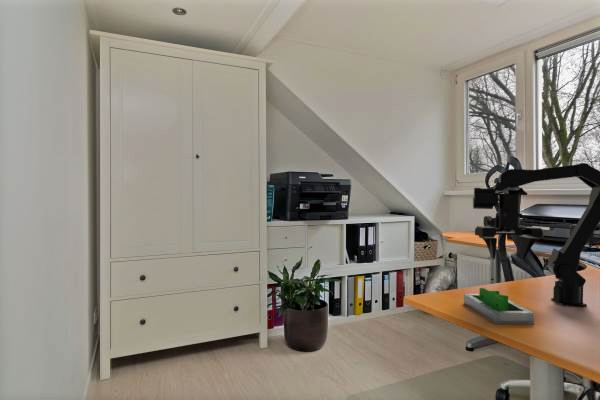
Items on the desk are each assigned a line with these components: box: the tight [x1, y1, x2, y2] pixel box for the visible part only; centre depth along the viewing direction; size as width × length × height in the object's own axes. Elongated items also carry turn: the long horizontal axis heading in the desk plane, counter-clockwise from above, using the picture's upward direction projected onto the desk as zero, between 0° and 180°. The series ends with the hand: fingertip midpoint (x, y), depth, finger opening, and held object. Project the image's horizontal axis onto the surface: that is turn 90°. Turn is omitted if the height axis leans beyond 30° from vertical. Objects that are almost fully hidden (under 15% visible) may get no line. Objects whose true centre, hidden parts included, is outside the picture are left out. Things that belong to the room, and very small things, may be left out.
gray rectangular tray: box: [463, 293, 535, 325], centre depth 101 cm, size 10×17×3 cm, turn 0°
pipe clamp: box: [479, 287, 509, 311], centre depth 101 cm, size 11×4×5 cm, turn 0°
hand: (507, 259), depth 116 cm, fingers open, 9 cm apart
